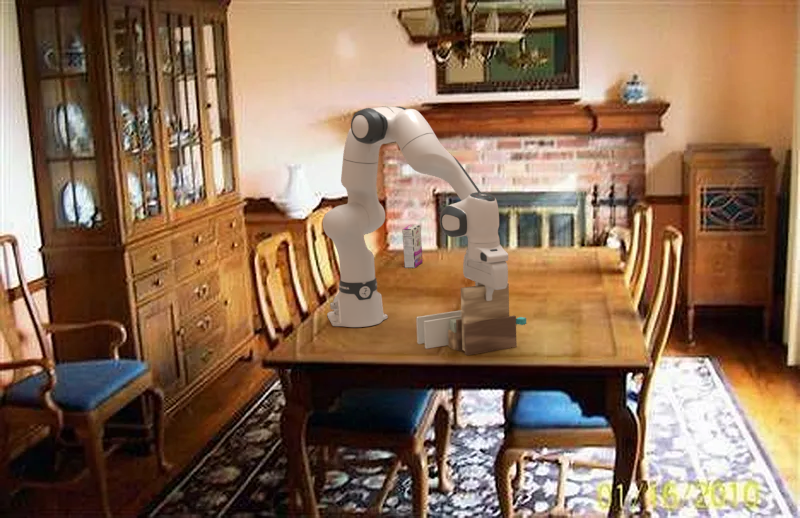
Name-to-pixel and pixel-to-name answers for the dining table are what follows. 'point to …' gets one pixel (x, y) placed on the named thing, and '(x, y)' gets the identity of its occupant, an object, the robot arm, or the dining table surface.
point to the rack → (487, 335)
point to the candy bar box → (412, 246)
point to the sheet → (482, 305)
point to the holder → (435, 328)
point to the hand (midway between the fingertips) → (485, 298)
